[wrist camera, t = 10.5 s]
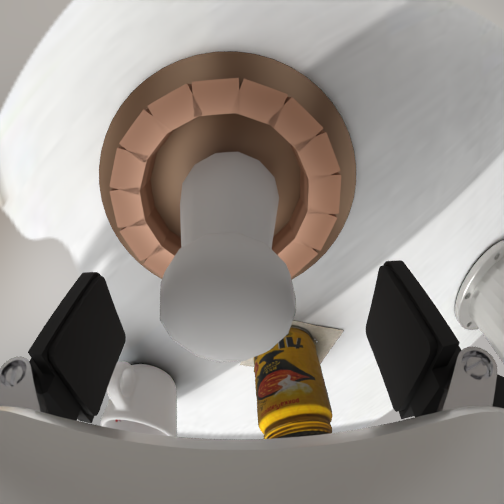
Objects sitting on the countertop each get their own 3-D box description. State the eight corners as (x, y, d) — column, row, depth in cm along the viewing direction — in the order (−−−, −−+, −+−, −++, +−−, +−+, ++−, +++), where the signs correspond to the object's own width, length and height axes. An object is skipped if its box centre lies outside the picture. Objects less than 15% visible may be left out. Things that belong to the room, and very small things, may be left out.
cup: (94, 338, 28) (70, 398, 21) (160, 334, 27) (144, 402, 21) (133, 395, 33) (122, 448, 26) (191, 394, 33) (187, 452, 26)
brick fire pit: (353, 56, 16) (374, 51, 13) (340, 280, 25) (352, 306, 22) (90, 77, 16) (65, 77, 13) (132, 292, 25) (121, 319, 22)
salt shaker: (273, 143, 18) (341, 232, 7) (274, 224, 21) (318, 378, 10) (181, 149, 18) (102, 247, 7) (190, 229, 21) (155, 387, 10)
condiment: (263, 313, 27) (277, 435, 16) (343, 329, 28) (380, 433, 18) (239, 363, 30) (243, 468, 20) (312, 373, 32) (332, 468, 21)
